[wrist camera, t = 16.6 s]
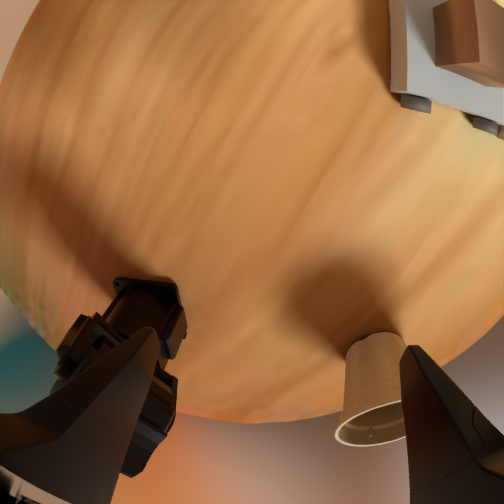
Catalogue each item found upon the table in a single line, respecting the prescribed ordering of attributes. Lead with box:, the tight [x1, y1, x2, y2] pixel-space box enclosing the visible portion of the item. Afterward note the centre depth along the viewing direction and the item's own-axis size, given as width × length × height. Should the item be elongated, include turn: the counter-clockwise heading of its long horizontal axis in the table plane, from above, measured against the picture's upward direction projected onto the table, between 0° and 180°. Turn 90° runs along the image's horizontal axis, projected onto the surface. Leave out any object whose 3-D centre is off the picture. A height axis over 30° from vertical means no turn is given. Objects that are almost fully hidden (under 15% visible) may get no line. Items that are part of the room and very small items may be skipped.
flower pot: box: [334, 332, 407, 446], centre depth 22 cm, size 9×9×9 cm
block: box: [433, 0, 504, 88], centre depth 7 cm, size 4×4×4 cm
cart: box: [389, 0, 504, 135], centre depth 11 cm, size 9×10×3 cm
